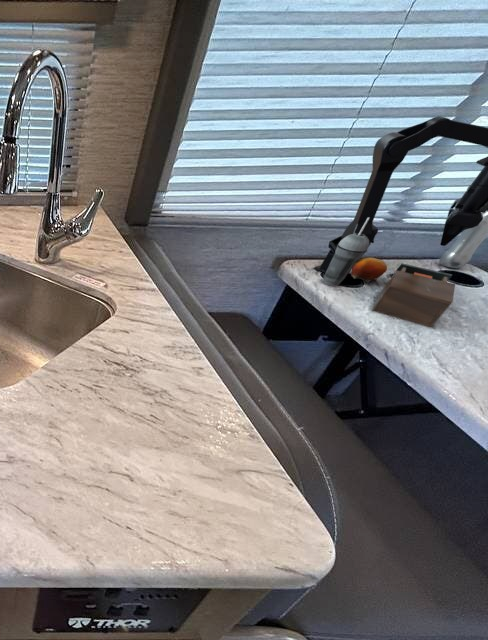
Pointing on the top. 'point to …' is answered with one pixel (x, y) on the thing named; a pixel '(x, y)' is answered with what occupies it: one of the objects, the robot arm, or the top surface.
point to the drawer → (424, 272)
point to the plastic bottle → (465, 245)
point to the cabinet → (415, 298)
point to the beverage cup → (346, 257)
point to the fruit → (368, 269)
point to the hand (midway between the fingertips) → (443, 241)
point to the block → (423, 275)
